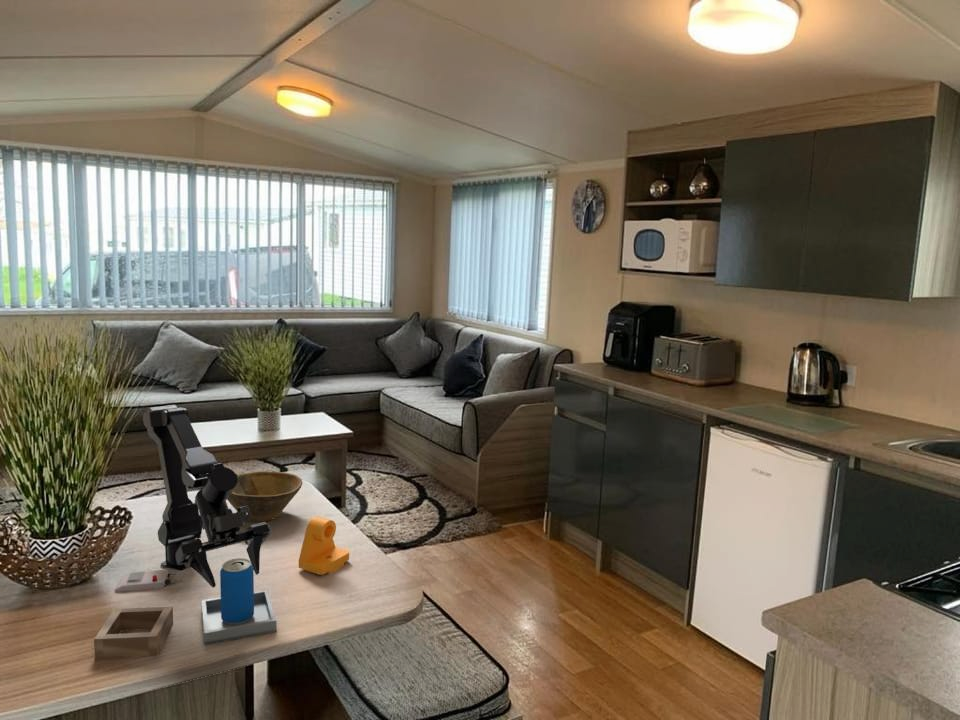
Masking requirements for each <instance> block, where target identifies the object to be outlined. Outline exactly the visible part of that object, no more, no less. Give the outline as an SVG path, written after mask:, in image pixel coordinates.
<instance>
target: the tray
mask: <svg viewBox="0 0 960 720" xmlns="http://www.w3.org/2000/svg"><path fill="white" fill-rule="evenodd" d="M200 602H201V617H202V628H203V629H202V630H203V640H204V642H203V643H204V646H207V645H208V646H209V645H212V644H218V643H224V642H229V641H235V640H240V639H244V638H245V639H246V638H251V637H256V636H263V635H267V634H273V633H277V618H276V615H275V614H276V613H275V610H274V606H273V603H272V600H271V597H270V591H269V590H268V589H263V590H256V591H254V615H253V617H252V618H250V619H249V620H248V621H247V622H245V623H242V624H238V625H231V624H228V623H226V622H224V621H223V620H222V619H221V596H220V597H218V596H217V597H213V598H206V599H202V600H201V601H200Z"/></svg>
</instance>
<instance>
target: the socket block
mask: <svg viewBox="0 0 960 720" xmlns="http://www.w3.org/2000/svg"><path fill="white" fill-rule="evenodd" d="M173 608H174V606H172V605H171V606H170V605H169V606H150V607H148V606H147V607H126V608H125V607H124V608H122V607H121V608H114V610H113V611H112V612H111V614H110V616H109V617H108V618H107V620H106V621H105V622H104V624H103V626H102V627H101V629H100V630H99V631H98V633H97V634H96V635H95V637H94V638H93V646H94V648H93V649H94V659H95V660H98V659H99V660H100V659H102V660H103V659H118V658H119V659H120V658H122V659H123V658H137V657H138V658H139V657H158V656H159V653H160V651H161V650H162V647H163V645H164V644H165V642H166V639H167V638H168V635H169V634H170V632H171V630H172V629H173V626H174V609H173ZM143 630H144V631H145V630H147V631H148V630H151V631H150V632H131V633H129V632H128V633H121V632H123V631H124V632H125V631H143Z"/></svg>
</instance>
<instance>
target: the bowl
mask: <svg viewBox="0 0 960 720" xmlns="http://www.w3.org/2000/svg"><path fill="white" fill-rule="evenodd" d="M236 475H237V478H238V482H237V485H236V486H235V488H234V490H233V491H232V493H231V495H230V496H229V498H228V499H227V500H226V501H228V502H229V504H230V505H231V506H232V507H233V508H234V509H235V511H237V508H240V507H243V506H248V508H249V510H250V513H251V520H249V522H257V523H260V522H266V521H271V520H274V519H276V518H277V517H278V516H279V515H280V514H281V513H282V512H283V510H284V509H285V508H286V507H287V506H288V505H289V503H290V502H291V501H292V500H293V498H294V497H295V496H296V495H297V494H298V493H299V491H300V490H301V488H302V486H303V479H302V478H301V477H300V476H298V475H296V474H294V473H289V472H283V471H274V470H273V471H272V470H271V471H269V470H263V471H262V470H261V471H251V472H247V473H246V472H245V473H241V474H236Z"/></svg>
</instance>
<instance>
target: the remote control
mask: <svg viewBox="0 0 960 720" xmlns="http://www.w3.org/2000/svg"><path fill="white" fill-rule="evenodd" d="M174 576H177V573H169V570H168V569H155V570H154V569H153V570H142V571H133V572H131V571H130V572H127V573H125V574H123V575H121V576H120V578H119V580H118V581H117V583H116V585H115V588H114V592H115V593H116V592H118V593H119V592H130V591H140V590H142V591H143V590H151V589H162V588H164V587H165V586H166V585H170V584H171V583H178V582H179V583H180V582H184V581H183V579H173V580H171V579H169V578H173V577H174Z"/></svg>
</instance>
